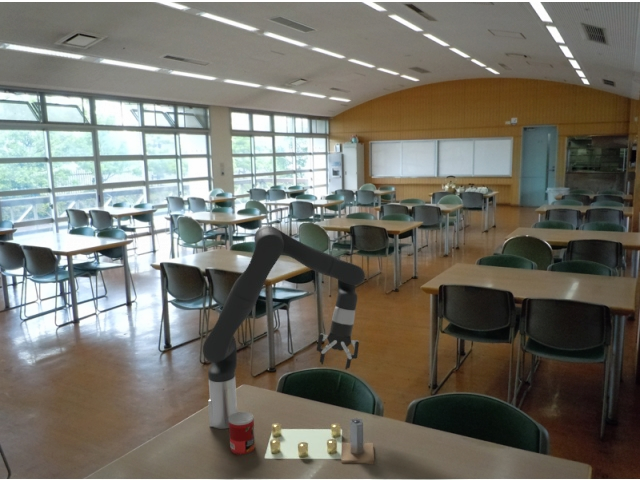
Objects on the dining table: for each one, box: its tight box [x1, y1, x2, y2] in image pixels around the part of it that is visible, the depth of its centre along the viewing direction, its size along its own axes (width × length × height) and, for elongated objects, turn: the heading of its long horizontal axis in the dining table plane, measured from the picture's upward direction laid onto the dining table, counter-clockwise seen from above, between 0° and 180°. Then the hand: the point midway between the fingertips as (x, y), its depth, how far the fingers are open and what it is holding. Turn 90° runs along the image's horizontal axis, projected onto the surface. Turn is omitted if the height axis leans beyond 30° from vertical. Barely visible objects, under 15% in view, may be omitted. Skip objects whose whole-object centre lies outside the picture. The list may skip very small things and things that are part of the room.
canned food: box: [228, 411, 256, 456], centre depth 170 cm, size 8×8×11 cm
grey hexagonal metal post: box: [349, 417, 364, 455], centre depth 165 cm, size 4×5×10 cm
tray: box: [340, 442, 375, 465], centre depth 166 cm, size 10×10×1 cm
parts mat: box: [264, 428, 343, 460], centre depth 173 cm, size 24×18×1 cm
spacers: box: [270, 422, 342, 458], centre depth 171 cm, size 23×15×4 cm, turn 87°
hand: (334, 366), depth 183 cm, fingers open, 8 cm apart
